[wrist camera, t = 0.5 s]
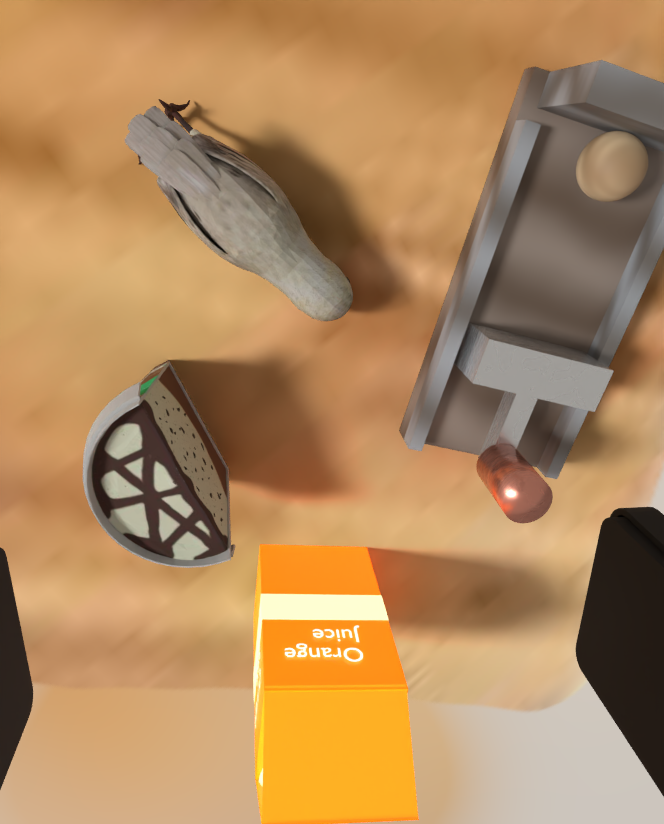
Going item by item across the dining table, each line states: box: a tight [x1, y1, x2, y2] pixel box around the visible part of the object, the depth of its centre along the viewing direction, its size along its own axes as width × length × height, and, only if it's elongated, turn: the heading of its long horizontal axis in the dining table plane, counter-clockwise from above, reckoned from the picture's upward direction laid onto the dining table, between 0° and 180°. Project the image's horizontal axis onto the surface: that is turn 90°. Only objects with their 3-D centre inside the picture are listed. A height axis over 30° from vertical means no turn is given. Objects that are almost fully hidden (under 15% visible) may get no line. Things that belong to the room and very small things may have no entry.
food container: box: [83, 360, 235, 568], centre depth 40 cm, size 12×6×10 cm, turn 22°
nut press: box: [399, 60, 664, 479], centre depth 41 cm, size 25×12×8 cm, turn 164°
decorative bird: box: [125, 99, 353, 321], centre depth 37 cm, size 5×16×8 cm, turn 46°
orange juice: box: [254, 544, 419, 824], centre depth 43 cm, size 8×9×20 cm
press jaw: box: [454, 322, 614, 523], centre depth 42 cm, size 10×9×8 cm
